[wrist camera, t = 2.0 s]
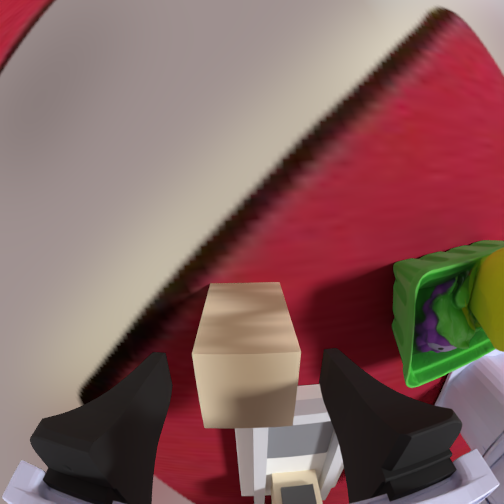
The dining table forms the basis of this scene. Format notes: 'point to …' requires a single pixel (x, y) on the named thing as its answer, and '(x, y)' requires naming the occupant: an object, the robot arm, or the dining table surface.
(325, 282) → the dining table surface
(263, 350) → the maple finger
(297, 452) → the rail
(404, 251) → the dining table surface
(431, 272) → the fruit basket
